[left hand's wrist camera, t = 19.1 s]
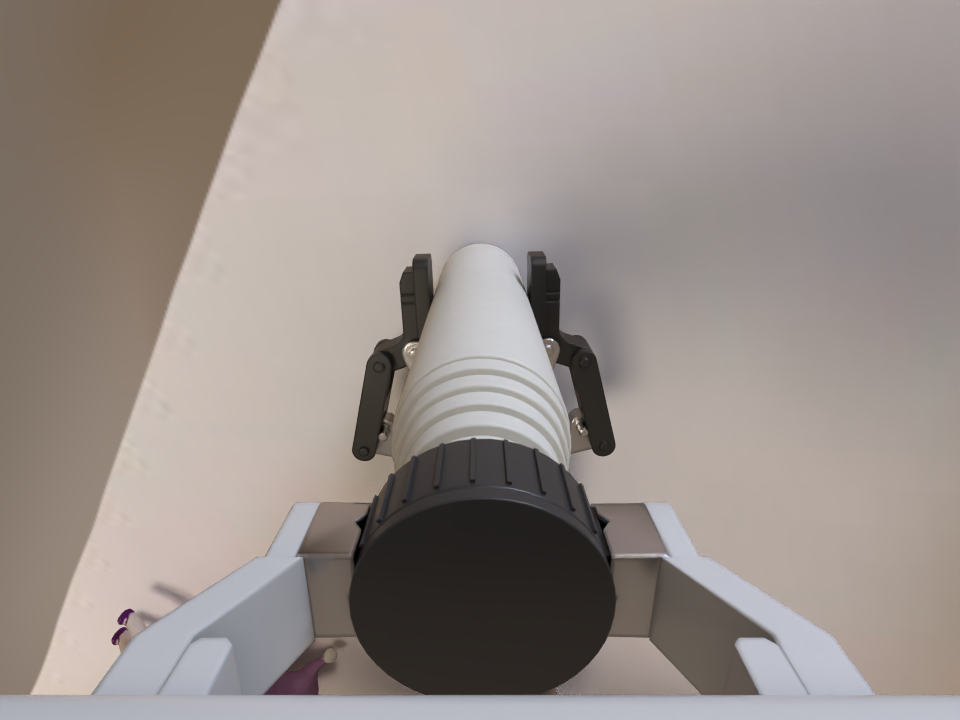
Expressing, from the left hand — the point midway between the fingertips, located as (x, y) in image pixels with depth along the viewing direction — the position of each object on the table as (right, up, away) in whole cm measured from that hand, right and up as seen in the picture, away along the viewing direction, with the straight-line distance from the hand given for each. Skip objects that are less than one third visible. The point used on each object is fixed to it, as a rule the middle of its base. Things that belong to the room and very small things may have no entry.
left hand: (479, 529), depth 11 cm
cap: (0, -1, -2) cm, 2 cm away
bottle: (0, +8, +21) cm, 22 cm away
